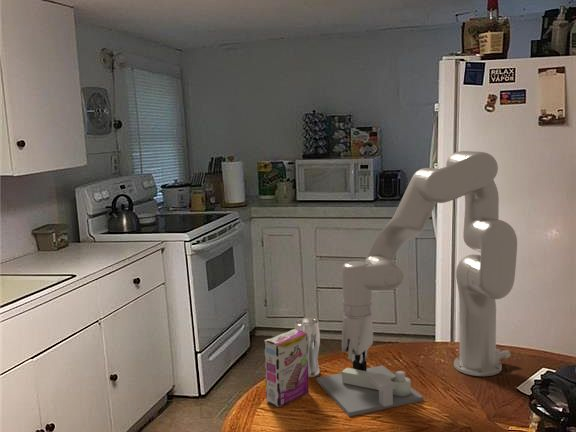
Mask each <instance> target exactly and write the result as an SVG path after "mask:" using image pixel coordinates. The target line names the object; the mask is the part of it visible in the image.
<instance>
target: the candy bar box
mask: <svg viewBox="0 0 576 432" xmlns="http://www.w3.org/2000/svg"><path fill="white" fill-rule="evenodd" d="M263 345H264V370H265V372H264V373H265V394H266V395H265V396H266V398H265V399H266V400H265V402H267V404H270V405H272V406H275V407H277V408H281V407H283V406H285V405H287V404H289V403H291V402H293V401H294V400H297V399H298V398H300V397H302V396H304V395H307V394H308V393H309V387H310V386H309V377H308V348H307V333H306V332H303V331H299V330H296V329H295V328H294V329H290V330H289V331H286V332H283V333H281V334H278V335H274V336H272V337H270V338H267V339H264V344H263Z"/></svg>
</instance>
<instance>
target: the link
mask: <svg viewBox="0 0 576 432" xmlns="http://www.w3.org/2000/svg"><path fill="white" fill-rule="evenodd" d="M341 373H342V383H346V384H351V385H356V386H361V387H365V388H370V389H375V390H378V389H377V388H376V387H375V386H374V385H373V384H371V383H370V382H369V381H368V376H371V375H376V374H378V373H373V372H367V371H362V370H357V369H353V367H352V368H351V367H346V368H344V369H343V370H342V371H341ZM394 374H395V376H396V377H394V376H388V375H385V376H386V377H388V378H389V379H390V380H391V381H393V382H394V383H395V389H393V395H395V396H408V395H410V394H411V388H412V382H411V378H409V377H406V372H405V371H404V370H397V371H395V373H394Z"/></svg>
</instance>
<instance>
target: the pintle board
mask: <svg viewBox="0 0 576 432" xmlns="http://www.w3.org/2000/svg"><path fill="white" fill-rule="evenodd" d="M366 368H367V367H366ZM367 372H373V373H378V374H376V375H371V376H368V381H369V382H370V383H371V384H373V385H374V386H375V387H376V388H377V389H378V390H375V389H370V388H365V387H361V386H356V385H351V384H346V383H342V372H341V373H336V374H329V375H324V376H319V377H316V383H317V384H318V385H319V386H320V387H321V388H322V389H323V390H324V391H325V392H326V393H327V395H329V397H330V398H331V399H332V400H333V401H334V402H335V403H336V404H337V405H338V406H339V407H340V408H341V410H343V412H344V413H345V414H346V415H347V416H348V417H353V416H357V415H358V416H359V415H362V414H368V413H372V412H377V411H382V410H386V409H390V408H395V407H400V406H405V405H409V404H414V403H418V402H419V403H420V402H422V401H423V402H424V396H422V395H421V394H420V393H419V392H418V391H417V390H415V389H414V388H413V387H411V394H410V395H408V396H395V395H393V389H395V383H394V382H393V381H391V380H390V379H389V378H388V377H386V376H385V375H388V376H394V377H396V376H395V373H393V372H392V371H391V370H389V369H388V368H387V367H386V366H384V365H378V366H372V367H368V368H367Z"/></svg>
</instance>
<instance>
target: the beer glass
mask: <svg viewBox="0 0 576 432" xmlns="http://www.w3.org/2000/svg"><path fill="white" fill-rule="evenodd" d="M294 329H296V330H299V331H303V332H306V333H307V348H308V378H314V377H317V376H319V375H320V366H319V351H320V349H319V348H320V345H321V342H320V341H321V333H320V332H321V331H320V323H319V319H317V318H313V317H302V318H299V319H296V320H295V322H294Z"/></svg>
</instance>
